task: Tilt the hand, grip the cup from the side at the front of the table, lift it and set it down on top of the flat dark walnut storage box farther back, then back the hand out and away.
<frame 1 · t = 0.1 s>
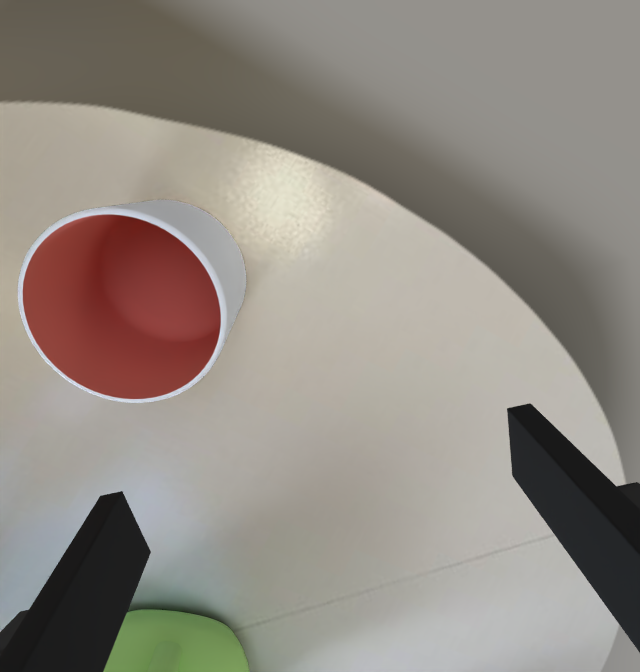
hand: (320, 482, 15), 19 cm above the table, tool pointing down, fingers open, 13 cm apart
teapot: (186, 658, 44), on the table
cup: (178, 272, 31), on the table
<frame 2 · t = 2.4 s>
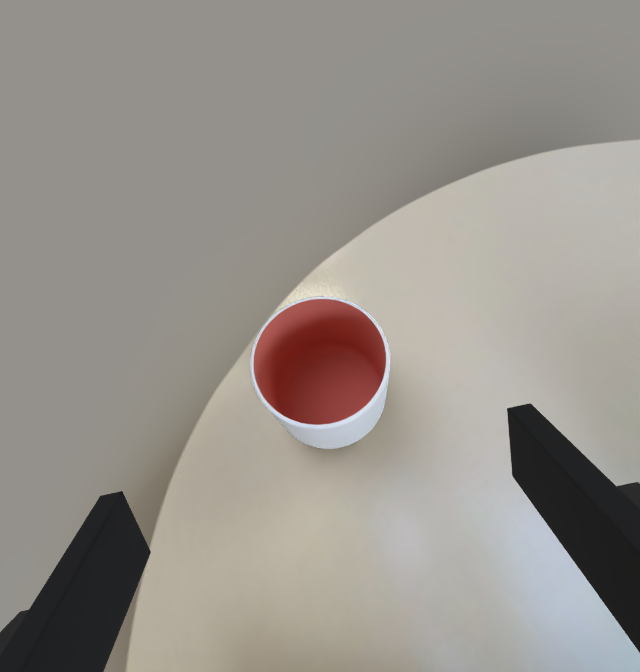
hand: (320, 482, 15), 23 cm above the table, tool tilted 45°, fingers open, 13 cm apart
cup: (330, 396, 40), on the table
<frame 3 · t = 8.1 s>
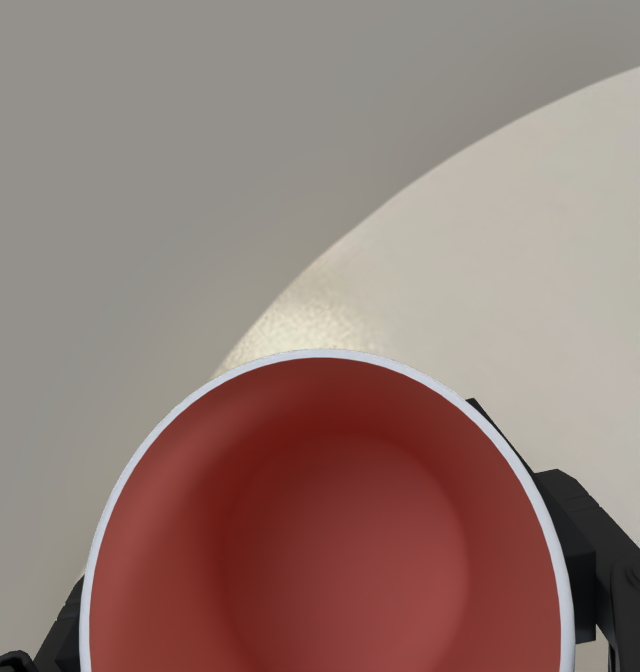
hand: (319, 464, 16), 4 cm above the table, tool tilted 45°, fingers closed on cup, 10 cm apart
cup: (345, 551, 18), on the table, touching gripper
when the fingers open (9 cm above the table, at t = 17.9 s): cup stays where it is, resting on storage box.
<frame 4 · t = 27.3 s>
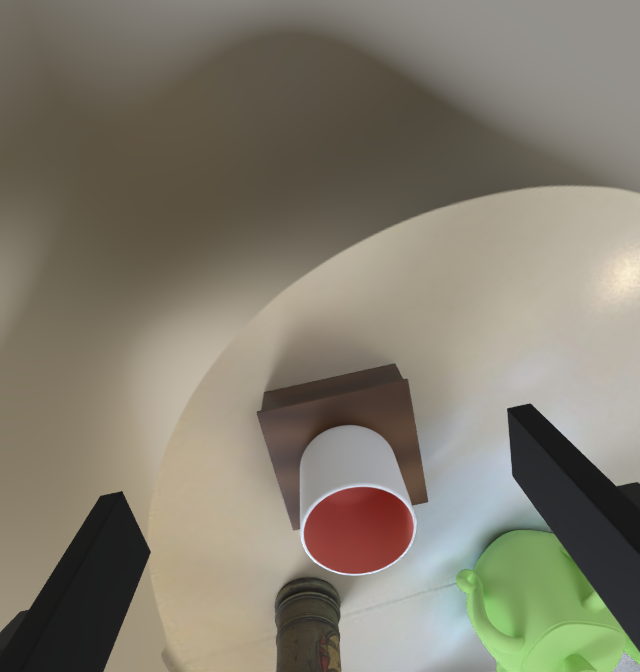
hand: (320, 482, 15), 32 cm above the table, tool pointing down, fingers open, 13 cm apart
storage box: (342, 434, 51), on the table
teapot: (530, 570, 60), on the table
container: (307, 599, 60), on the table
cup: (346, 459, 46), point 5 cm above the table, touching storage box
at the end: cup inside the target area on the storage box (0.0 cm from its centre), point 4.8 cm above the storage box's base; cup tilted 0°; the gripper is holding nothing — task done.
